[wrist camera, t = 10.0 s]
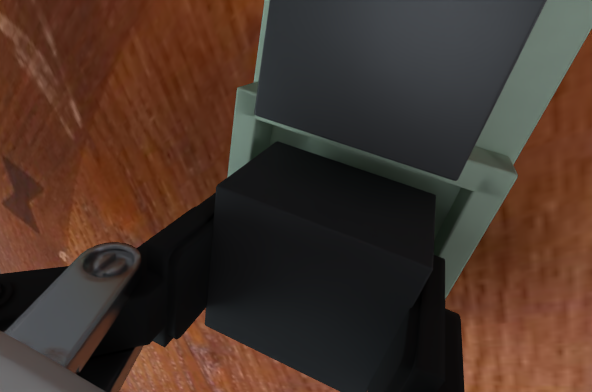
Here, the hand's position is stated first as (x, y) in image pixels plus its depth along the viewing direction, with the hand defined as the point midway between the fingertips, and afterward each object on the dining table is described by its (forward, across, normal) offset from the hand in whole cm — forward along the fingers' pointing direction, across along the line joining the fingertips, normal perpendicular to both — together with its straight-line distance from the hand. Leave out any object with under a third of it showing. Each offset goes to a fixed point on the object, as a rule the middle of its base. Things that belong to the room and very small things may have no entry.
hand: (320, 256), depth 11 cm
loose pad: (+1, 0, 0) cm, 1 cm away
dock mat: (+4, 0, -2) cm, 4 cm away
